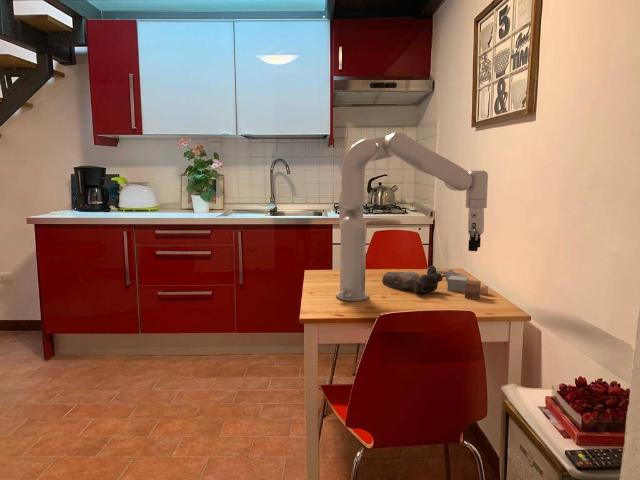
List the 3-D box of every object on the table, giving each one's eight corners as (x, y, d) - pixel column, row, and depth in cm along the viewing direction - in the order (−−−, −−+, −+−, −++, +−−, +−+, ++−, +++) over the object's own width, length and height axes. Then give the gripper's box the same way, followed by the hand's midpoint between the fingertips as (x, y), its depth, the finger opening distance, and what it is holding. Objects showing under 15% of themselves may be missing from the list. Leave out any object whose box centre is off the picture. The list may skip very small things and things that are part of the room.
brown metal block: (478, 299, 179) (479, 284, 178) (464, 298, 181) (465, 282, 180) (479, 296, 184) (480, 281, 183) (466, 295, 186) (467, 280, 185)
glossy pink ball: (487, 295, 185) (487, 288, 185) (476, 294, 187) (476, 287, 186) (488, 293, 189) (488, 285, 188) (477, 292, 190) (478, 284, 190)
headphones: (441, 282, 202) (472, 284, 213) (443, 269, 201) (474, 272, 213) (412, 275, 216) (442, 277, 227) (414, 263, 216) (444, 265, 227)
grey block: (465, 292, 190) (465, 280, 189) (447, 291, 193) (447, 278, 192) (467, 288, 196) (468, 277, 195) (450, 287, 199) (450, 275, 198)
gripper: (484, 205, 168) (482, 253, 171) (488, 202, 184) (486, 246, 186) (462, 205, 171) (461, 252, 174) (468, 202, 187) (467, 245, 189)
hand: (474, 249), depth 180 cm, fingers open, 9 cm apart
